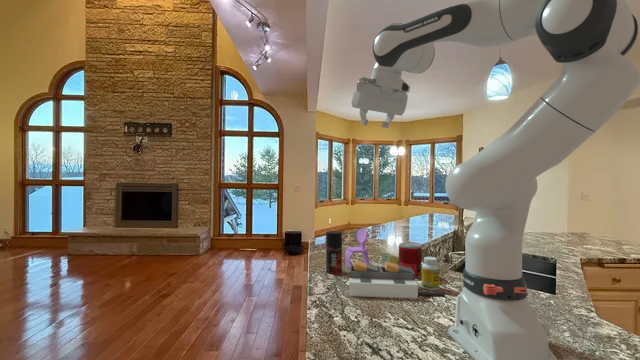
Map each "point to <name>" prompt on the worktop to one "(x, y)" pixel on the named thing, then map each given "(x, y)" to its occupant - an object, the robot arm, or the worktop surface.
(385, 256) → the medication box
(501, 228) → the robot arm
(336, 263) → the deodorant
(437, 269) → the supplement bottle
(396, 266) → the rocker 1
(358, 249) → the toy chair
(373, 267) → the rocker
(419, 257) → the canned food
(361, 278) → the power strip
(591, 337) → the worktop surface
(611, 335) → the worktop surface
